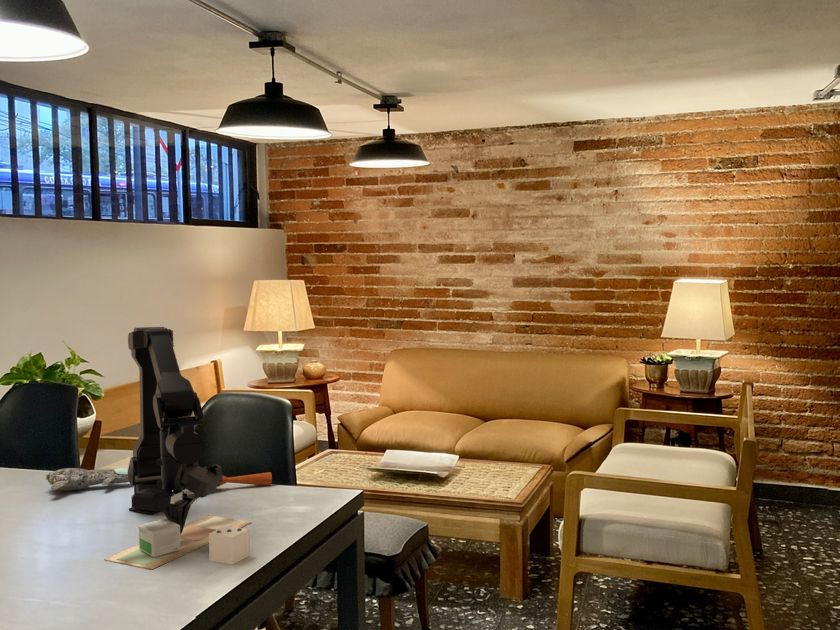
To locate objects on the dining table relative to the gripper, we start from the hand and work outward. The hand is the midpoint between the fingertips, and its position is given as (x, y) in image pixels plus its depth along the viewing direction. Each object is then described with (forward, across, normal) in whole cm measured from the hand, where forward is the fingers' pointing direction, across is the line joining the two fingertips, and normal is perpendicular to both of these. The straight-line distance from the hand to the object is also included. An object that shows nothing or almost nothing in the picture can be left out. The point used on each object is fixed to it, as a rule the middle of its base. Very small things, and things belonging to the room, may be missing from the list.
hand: (178, 533), depth 157 cm
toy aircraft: (+2, +22, +44) cm, 49 cm away
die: (+2, -3, -14) cm, 14 cm away
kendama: (+2, +35, +15) cm, 38 cm away
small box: (+2, -6, 0) cm, 6 cm away
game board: (+2, +2, 0) cm, 2 cm away
